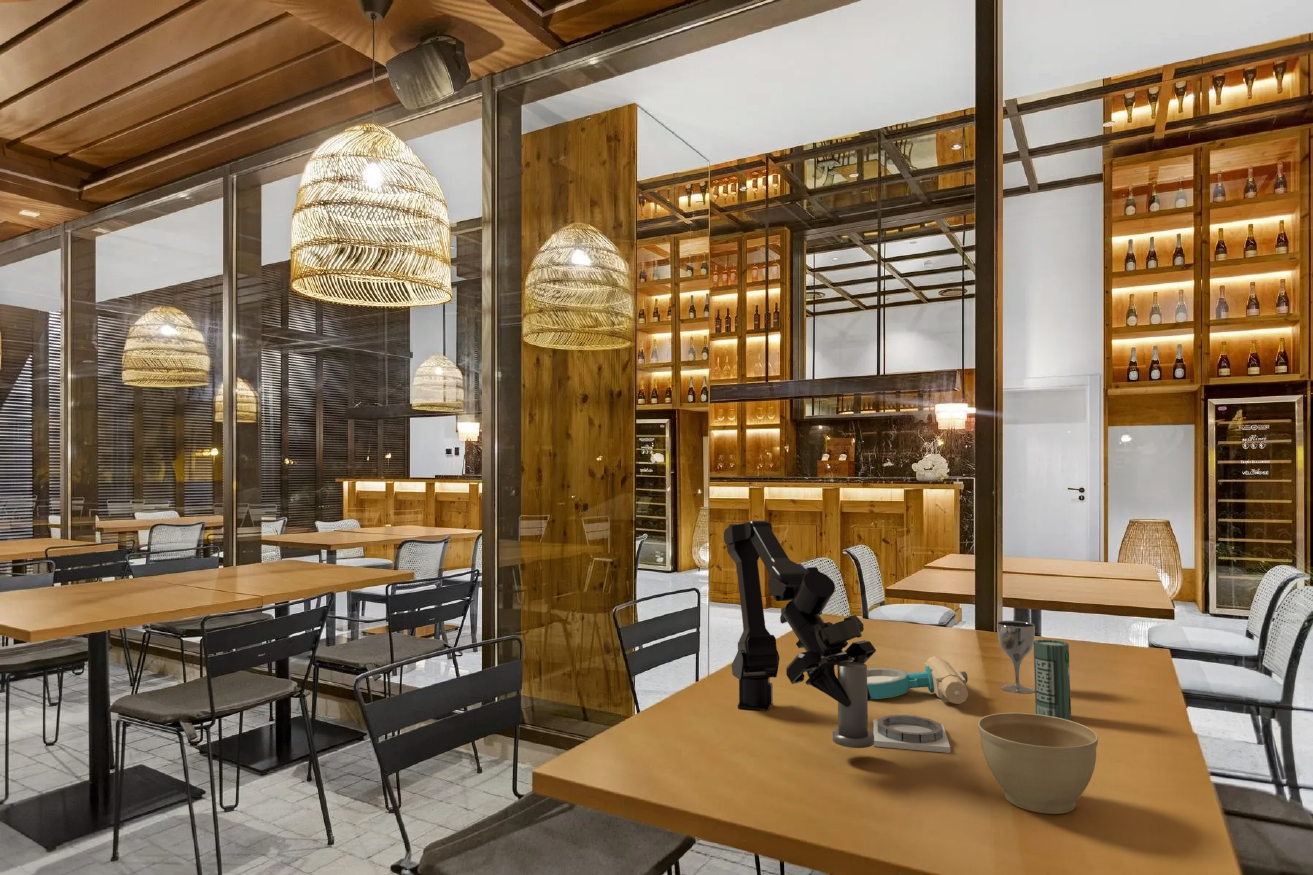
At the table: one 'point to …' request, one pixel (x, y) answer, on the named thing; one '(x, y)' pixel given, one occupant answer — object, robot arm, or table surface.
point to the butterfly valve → (920, 681)
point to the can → (1052, 678)
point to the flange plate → (910, 733)
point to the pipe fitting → (853, 707)
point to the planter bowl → (1039, 759)
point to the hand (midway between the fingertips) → (859, 702)
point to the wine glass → (1016, 648)
